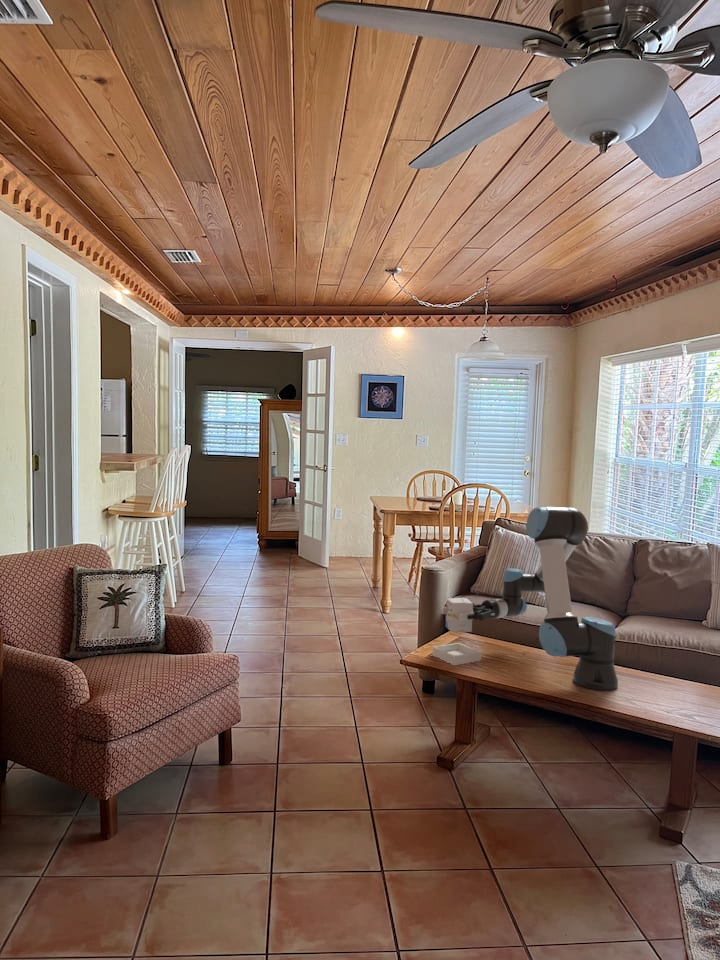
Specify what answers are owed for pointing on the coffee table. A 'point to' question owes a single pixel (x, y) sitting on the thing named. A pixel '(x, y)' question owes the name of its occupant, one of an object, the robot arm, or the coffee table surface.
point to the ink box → (454, 610)
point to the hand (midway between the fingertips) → (450, 613)
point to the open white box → (456, 653)
